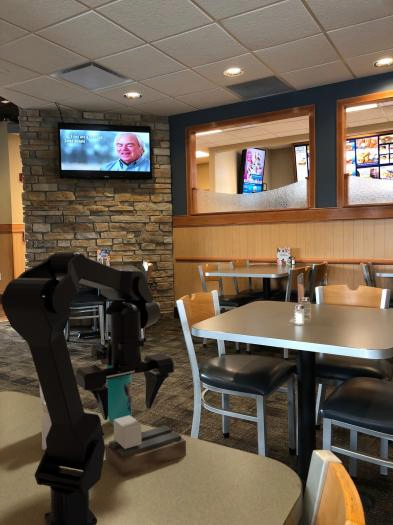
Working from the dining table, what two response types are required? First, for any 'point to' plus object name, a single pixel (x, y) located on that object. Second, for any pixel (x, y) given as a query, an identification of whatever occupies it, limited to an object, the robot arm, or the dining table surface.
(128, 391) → the beverage can
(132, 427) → the block
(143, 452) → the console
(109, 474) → the dining table surface
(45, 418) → the pepper shaker
